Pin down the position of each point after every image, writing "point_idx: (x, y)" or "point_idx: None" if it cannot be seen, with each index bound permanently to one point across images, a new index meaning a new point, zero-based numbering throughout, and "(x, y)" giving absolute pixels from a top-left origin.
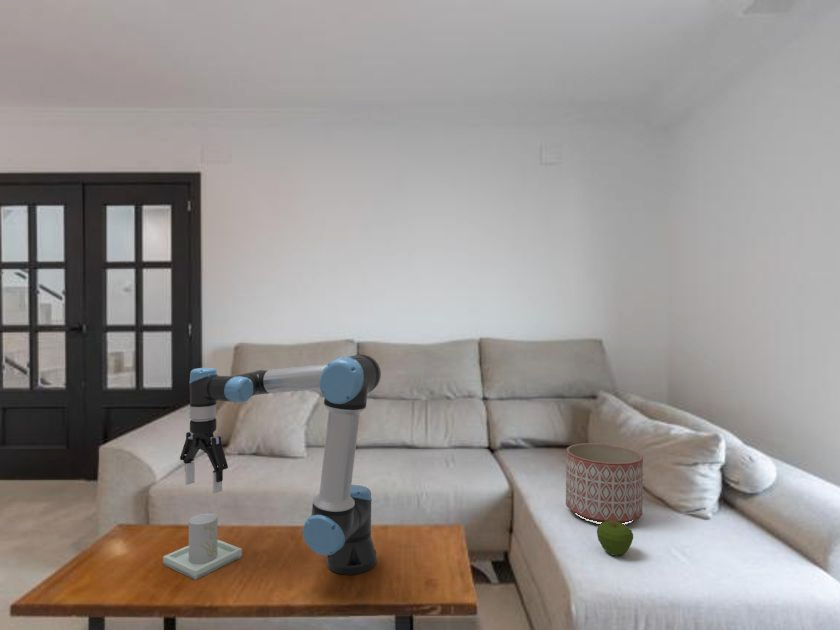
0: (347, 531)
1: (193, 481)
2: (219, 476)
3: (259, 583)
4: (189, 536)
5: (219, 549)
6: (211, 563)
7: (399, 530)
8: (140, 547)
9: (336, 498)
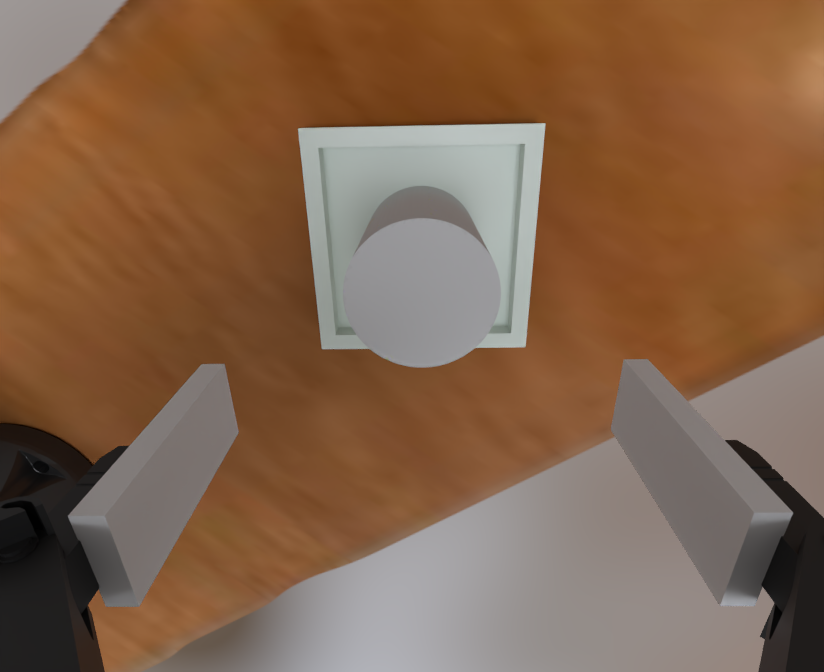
0: None
1: (617, 427)
2: (70, 500)
3: (106, 253)
4: (438, 205)
5: None
6: (307, 210)
7: (108, 653)
8: (771, 155)
9: None
